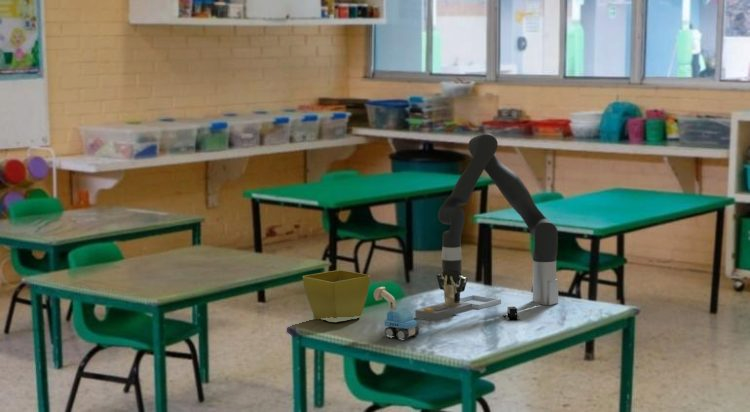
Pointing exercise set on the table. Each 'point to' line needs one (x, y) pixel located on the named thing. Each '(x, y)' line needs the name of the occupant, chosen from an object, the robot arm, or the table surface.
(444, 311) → the power strip
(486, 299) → the tray
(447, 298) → the plug peg
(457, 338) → the table surface
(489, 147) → the robot arm
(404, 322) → the toy excavator
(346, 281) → the flower pot
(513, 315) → the black block
